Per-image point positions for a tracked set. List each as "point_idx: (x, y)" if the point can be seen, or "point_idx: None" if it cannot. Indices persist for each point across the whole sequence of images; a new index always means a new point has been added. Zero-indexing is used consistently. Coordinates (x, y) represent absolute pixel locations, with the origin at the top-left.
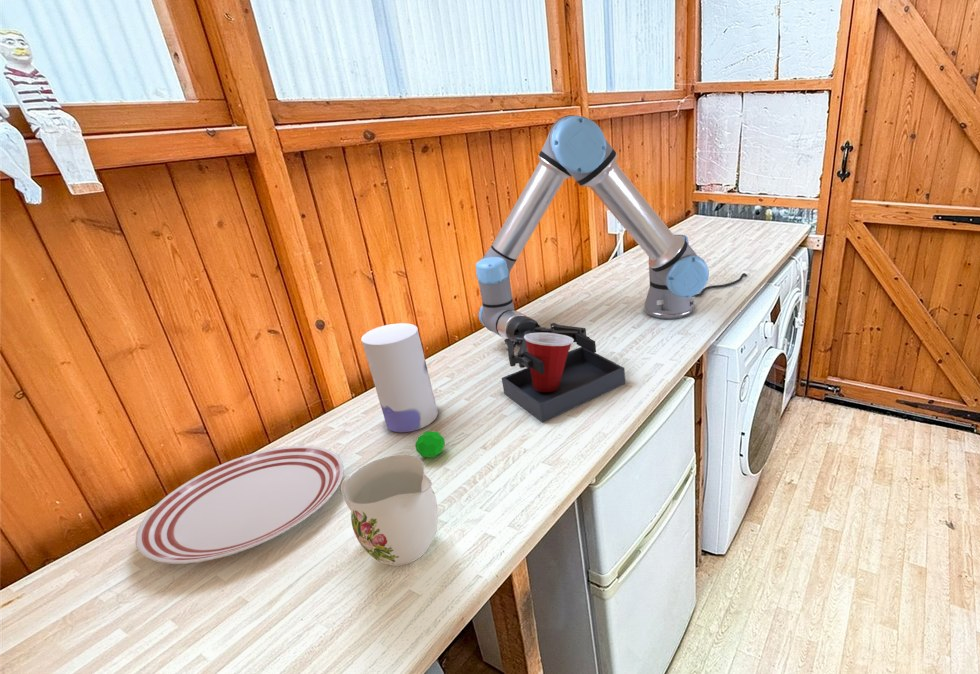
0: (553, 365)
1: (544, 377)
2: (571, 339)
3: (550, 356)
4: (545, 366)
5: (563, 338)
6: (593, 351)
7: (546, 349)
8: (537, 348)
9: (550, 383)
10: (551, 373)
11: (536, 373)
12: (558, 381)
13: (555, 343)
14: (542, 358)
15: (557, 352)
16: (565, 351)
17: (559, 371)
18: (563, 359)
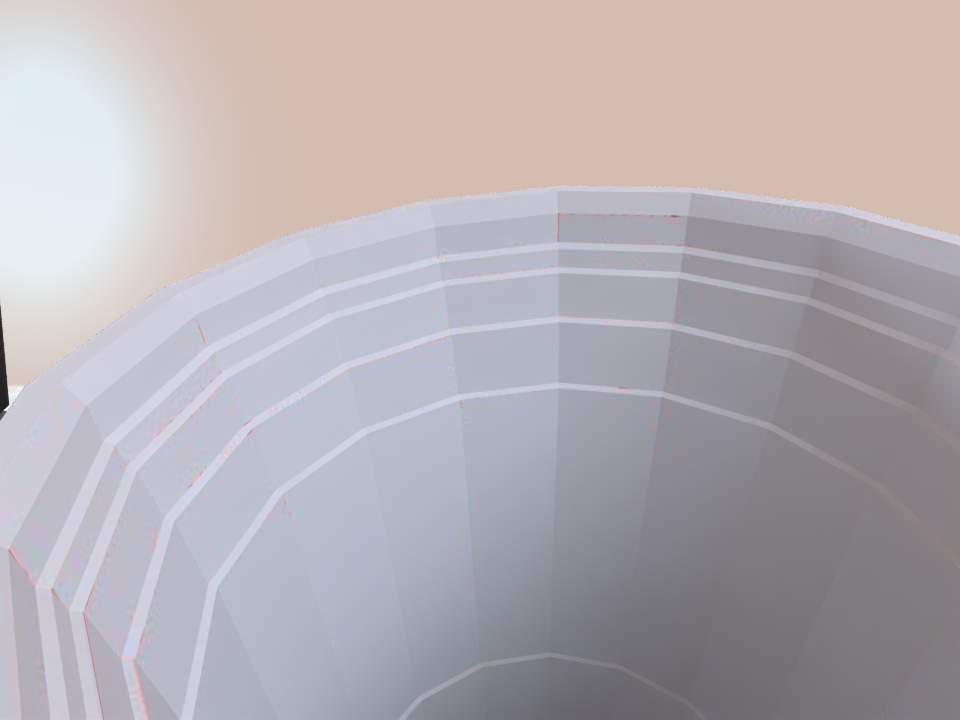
0: (592, 503)
1: (666, 670)
2: (176, 311)
3: (660, 385)
4: (688, 541)
5: (51, 561)
6: (4, 386)
7: (737, 301)
8: (875, 348)
9: (581, 711)
10: (597, 595)
11: (769, 713)
12: (477, 711)
13: (630, 192)
14: (754, 458)
15: (573, 328)
16: (440, 343)
17: (491, 589)
18: (451, 457)
